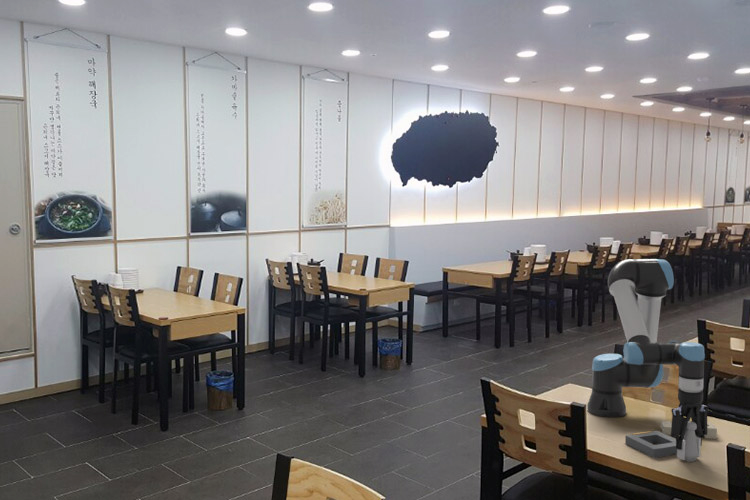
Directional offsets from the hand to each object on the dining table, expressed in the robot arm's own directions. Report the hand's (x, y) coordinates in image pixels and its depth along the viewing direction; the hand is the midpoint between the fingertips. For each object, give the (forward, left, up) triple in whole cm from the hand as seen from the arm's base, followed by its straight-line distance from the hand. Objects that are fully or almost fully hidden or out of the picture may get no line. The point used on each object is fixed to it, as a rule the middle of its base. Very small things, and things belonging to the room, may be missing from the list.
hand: (688, 456), depth 223 cm
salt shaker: (0, 0, -1) cm, 1 cm away
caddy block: (-12, -3, -1) cm, 12 cm away
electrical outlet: (-20, +19, -1) cm, 27 cm away
